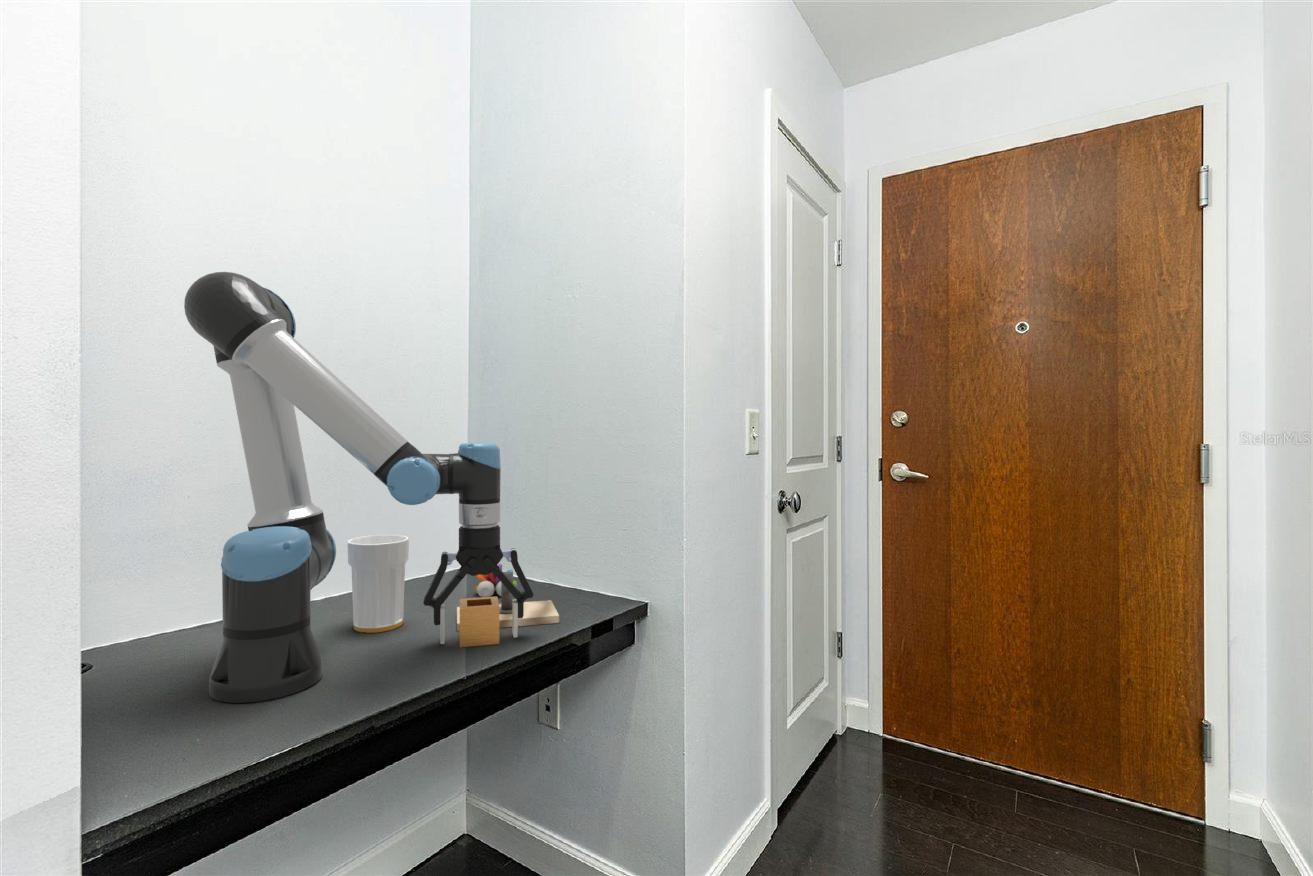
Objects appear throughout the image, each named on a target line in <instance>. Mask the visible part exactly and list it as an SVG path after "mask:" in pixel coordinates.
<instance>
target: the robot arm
mask: <svg viewBox="0 0 1313 876" xmlns="http://www.w3.org/2000/svg"><path fill="white" fill-rule="evenodd" d="M183 305H184V307H183V308H184V313H185V317H186V319H187V322H188V323H189V325H190V326H191V328H192V329H193V330H194V331H195V333H196V334H198V335H199V336H200V337H202V338H203V339H204V340H206V341H207V342H208V343H210V344H211V345H212V346H213V350H214V356H215V361H216V366H217V367H218V368H219V369H221V370H223V371H224V372H225V373H226V374H228V375H229V378H230V382H231V389H232V394H233V400H234V404H235V411H236V416H237V419H238V420H237V421H238V427H239V431H240V435H241V441H242V446H243V451H244V457H245V462H246V468H247V473H248V479H249V480H248V481H249V484H250V490H251V495H252V501H253V505H254V506H253V507H254V511H255V513H254V516H252V518H251V519H250V520H249V522H248V523H247V529H248V530H246V531H242V532H241V533H240V532H239V533H237V534H234V535H233V536H231V537H230V538H229V539H228V540H226V542H225V543H224V545H223V549H222V557H221V563H220V567H221V570H222V573H221V575H222V577H221V578H222V579H221V581H222V586H221V589H222V641H221V644H220V647H219V650H218V652H217V655H216V658H215V660H214V663H213V666H212V669H211V672H210V675H209V677H208V678H209V679H208V695H209V696H210V697H209V698H211V699H213V700H215V701H217V700H218V702H224V703H229V704H231V703H232V704H235V703H236V704H239V703H240V704H242V703H245V704H247V703H256V702H262V701H268V700H274V699H278V698H282V697H286V696H289V695H292V694H295V693H298V692H302V691H304V690H305V689H308V688H310V687H312V686H313V685H315V684H316V683H318V682H319V681H320V680H321V679H322V677H323V675H324V661H323V657H322V655H321V651H320V649H319V647H318V644H317V641H316V638H315V636H314V633H313V631H312V627H311V626H312V625H311V590H313V589H314V587H316V586H318V585H319V584H320V583H321V582H323V581H324V580H325V579H326V578H327V576H328V575H329V574H330V572H331V571H332V568H333V566H334V564H335V561H336V557H337V546H336V541H335V539H334V537H333V535H332V533H331V532H330V531H329V530H328V529H327V527H326V525H327V524H326V522H325V515H324V511H323V509H322V508H320V507H318V506H316V505H315V503H313V502H312V497H311V492H310V487H309V481H308V476H307V471H306V470H307V469H306V464H305V458H304V454H303V447H302V443H301V437H300V432H299V427H298V419H297V415H296V410H295V409H296V408H297V409H298V411H300V412H301V413H303V415H305V416H306V417H307V418H309V420H310V421H312V422H313V423H314V424H315V425H316V426H318V428H320V429H321V430H322V431H323V432H324V433H325V434H327V435H328V436H329V437H330V438H331V439H332V440H334V441H335V442H336V443H337V444H338V445H339V446H340V447H341V448H343V449H344V450H345V451H346V452H347V453H349V455H351V456H352V457H353V458H354V459H356V460H357V461H358V462H359V463H360V464H361V465H362V466H364V467H365V468H366V469H367V470H368V471H369V472H370V473H371V474H373V475H374V476H375V477H376V478H377V479H378V480H379V481H380V482H381V483H382V484H383V485H385V487H387V489H388V492H389V494H390V496H392V498H393V499H395V500H396V501H397V502H398V503H400V504H403V505H407V506H417V505H421V504H424V503H427V502H428V501H429V500H431V499H433V498H434V497H435V496H436V495H449V494H450V495H455V494H456V495H457V494H458V524H460V525H461V526H460V527H459V528H458V550H457V552H456V553H454V552H453V553H451V552H447V551H442V552H441V556H440V564H439V566H438V568H437V570H436V572H435V574H434V577H433V579H432V581H431V584H430V585H429V587H428V589H427V591H426V594H425V595H424V598H423V605H424V606H426V607H427V606H429V607H431V608H433V609H432V610H433V624H434V626H440V627H439V628H440V630H439V631H440V635H439V636H440V638H439V639H440V641H439V643H440V645H445V644H446V605H445V604H444V603H445V601H446V600H447V599H448V598H449V597H450V595H451V594H452V592H453V591H454V590H455V589H456V588H457V586H458V585H459V584H460V583H461V582H462V580H463V579H464V578H465V577H466V576H467V575H468V576H471V577H476V575H479V574H481V575H488V574H490V573H491V572H493V573H494V574H495V576H496V577H497V578H498V579H499V580H500V581H501V582H502V583H503V584H504V586H505V587H506V588H507V589H508V590H509V591H510V593H511V594H512V595H513V598H514V599H513V607H512V627H511V629H512V631H511V632H512V633H511V634H512V635H513V638H518V636H519V635H518V633H519V632H518V631H519V630H518V629H519V628H518V627H519V626H518V618H523V616H524V602H526V600H528V599H532V598H533V597H534V592H533V591H532V588H531V586H530V584H529V582H528V580H527V578H526V576H525V573H524V571H523V570H522V568H521V565H520V563H519V559H518V551H517V550H516V548H510V549H508V550H502V549H501V526H500V525H499V524H500V522H501V469H502V468H501V453H500V447H499V446H498V445H497V444H496V443H492V442H462V443H460V444H459V447H458V450H457V453H456V452H455V453H422V452H421V451H420V450H419V449H417V447H416V446H414V445H413V444H411V443H410V442H409V441H408V440H407V439H406V438H405V437H404V436H403V435H402V434H401V433H400V432H399V431H397V430H396V429H395V428H394V427H393V426H392V425H391V424H390V423H389V422H387V421H386V420H385V419H384V418H383V417H382V416H380V414H378V413H377V412H376V411H375V410H374V409H373V408H372V407H371V406H369V405H368V403H366V402H365V401H364V400H363V399H362V398H361V397H360V396H358V394H356V393H355V392H354V391H353V390H352V389H351V388H350V387H348V385H347V384H346V383H344V382H343V381H342V380H341V379H339V377H338V376H337V375H335V374H334V373H333V372H332V371H331V370H330V369H328V368H327V366H325V365H324V364H323V363H322V362H321V361H319V360H318V358H316V357H315V355H313V354H312V353H311V352H310V351H309V350H308V349H307V348H305V346H303V345H302V344H301V343H300V342H299V341H298V340H297V339H295V335H296V330H297V323H296V319H295V316H294V313H293V311H292V309H291V308H290V307H289V305H288V304H287V303H286V302H285V300H284V299H283V298H282V297H281V296H280V295H278V294H277V293H275V292H274V291H272V290H271V289H268V288H266V287H263V286H261V285H260V284H259V283H257V282H256V281H255V280H253V279H251V278H249V277H247V276H245V275H243V274H239V273H236V272H230V271H229V272H228V271H215V272H212V273H208V274H206V275H203V276H201V277H199V278H198V279H197V280H196V281H194V282H193V283H192V284H191V285H190V287H189V288H188V289H187V292H186V294H185V297H184V304H183ZM295 407H296V408H295ZM503 558H505V559H506V561H507V562H509V563H511V566H512V567H513V568H512V569H513V571H514V573H515V574H516V576H517V579H518V580H519V583H520V584H521V587H522V588H523V590H524V591H520V590H519V589H518V587H517V586H515V585H514V584H513V583H512V582H511V581H510V579H509V578H508V577H507V576H506V575H505V574H504V572H505V571H503V569H502V570H501V569H500V567H499V566H498V565H499V564H500V562H501V561H502V559H503ZM455 560H456V562H457V563H458V564H459V565H460V567H459V569H458V570H457V571H456V573H455V574H454V576H452V578H451V579H450V580H449V582H448V583H447V584H446V586H445V587H444V588H443V589H442V590H441V591H440V593H439V594H438V596H437V597H436V598H435V597H434V596H435V594H436V592H437V590H438V588H439V585H440V584H441V581H442V580H443V577H444V575H445V573H446V571H447V567H448V566H451V565H452V564H453V562H454V561H455Z"/></svg>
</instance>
